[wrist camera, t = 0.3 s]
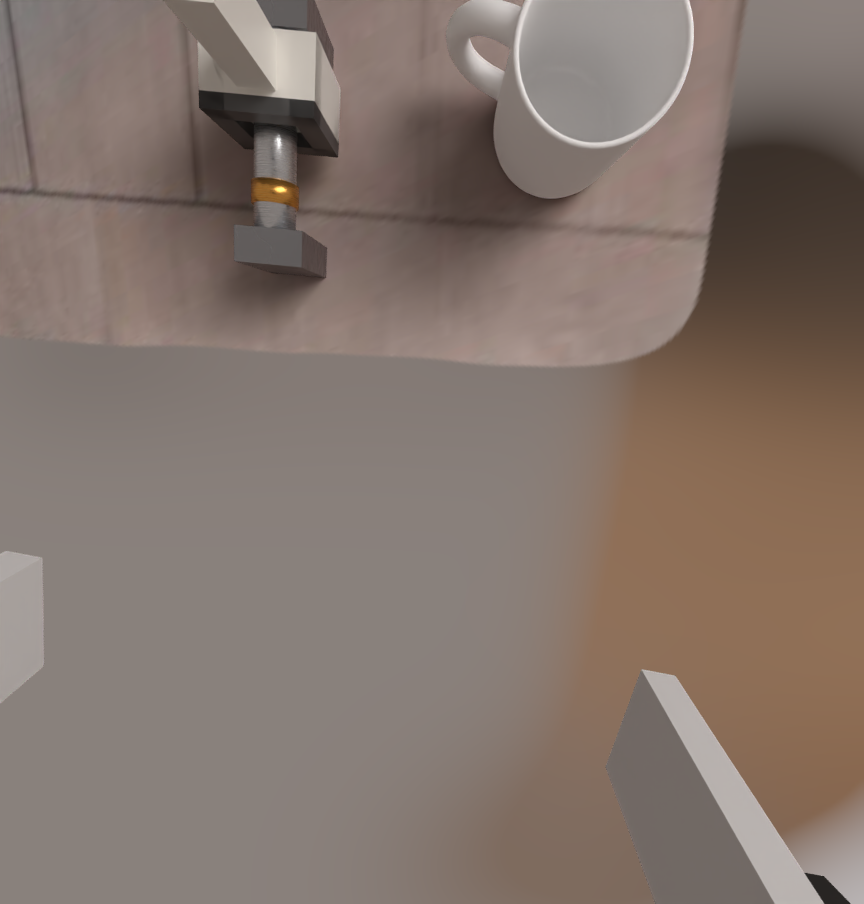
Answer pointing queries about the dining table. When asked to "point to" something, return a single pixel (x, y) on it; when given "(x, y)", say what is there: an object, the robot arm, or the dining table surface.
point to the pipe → (281, 173)
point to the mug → (573, 81)
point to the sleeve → (262, 74)
